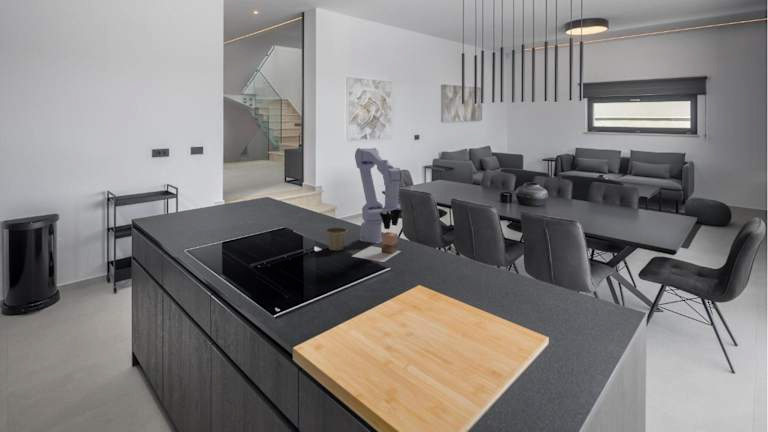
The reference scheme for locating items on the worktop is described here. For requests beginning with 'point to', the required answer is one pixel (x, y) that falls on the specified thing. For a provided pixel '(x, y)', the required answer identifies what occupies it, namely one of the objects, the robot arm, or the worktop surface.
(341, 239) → the flower pot
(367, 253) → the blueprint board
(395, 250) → the walnut block
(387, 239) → the terracotta block
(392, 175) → the robot arm
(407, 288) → the worktop surface
